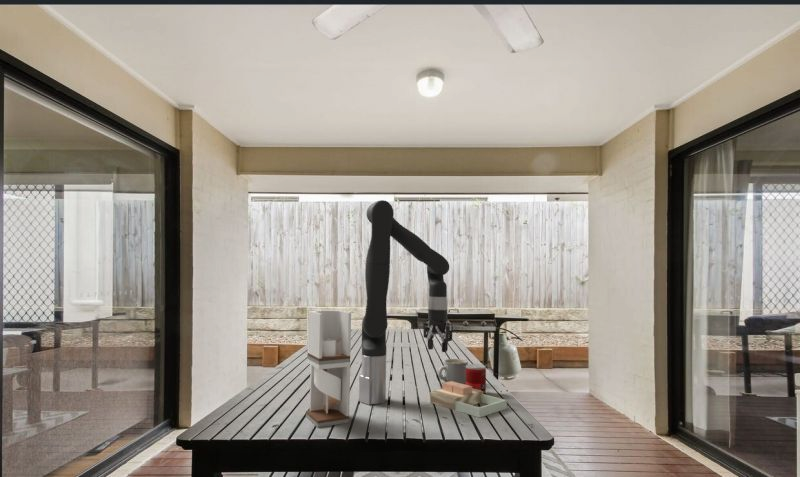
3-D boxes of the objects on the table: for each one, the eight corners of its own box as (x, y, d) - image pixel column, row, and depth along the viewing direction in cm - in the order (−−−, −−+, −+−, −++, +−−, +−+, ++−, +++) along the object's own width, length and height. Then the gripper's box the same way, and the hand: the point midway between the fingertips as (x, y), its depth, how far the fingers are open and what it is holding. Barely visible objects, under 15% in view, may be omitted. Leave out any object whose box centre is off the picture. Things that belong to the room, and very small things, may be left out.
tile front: (463, 395, 168) (463, 388, 168) (452, 392, 171) (452, 385, 172) (472, 393, 171) (472, 386, 171) (461, 390, 175) (461, 383, 175)
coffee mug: (463, 381, 206) (463, 358, 207) (470, 387, 196) (470, 363, 197) (434, 382, 204) (434, 359, 204) (440, 388, 194) (440, 363, 194)
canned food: (485, 397, 181) (485, 368, 182) (465, 395, 182) (465, 367, 183) (486, 392, 188) (486, 364, 189) (466, 390, 190) (466, 363, 191)
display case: (306, 417, 154) (308, 311, 156) (336, 412, 159) (338, 310, 161) (317, 427, 144) (320, 314, 146) (349, 422, 149) (351, 312, 151)
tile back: (452, 392, 172) (452, 385, 172) (442, 389, 175) (442, 383, 176) (461, 390, 175) (461, 383, 175) (451, 387, 179) (451, 381, 179)
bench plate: (454, 410, 163) (454, 398, 164) (430, 402, 172) (430, 391, 172) (482, 401, 174) (482, 391, 174) (458, 395, 183) (458, 384, 183)
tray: (479, 417, 155) (479, 408, 156) (455, 410, 163) (455, 401, 164) (506, 408, 166) (506, 400, 166) (482, 402, 174) (482, 393, 174)
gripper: (418, 307, 186) (417, 349, 185) (444, 309, 175) (444, 354, 174) (431, 306, 191) (430, 347, 190) (457, 308, 180) (457, 352, 179)
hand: (437, 350), depth 182 cm, fingers open, 7 cm apart
